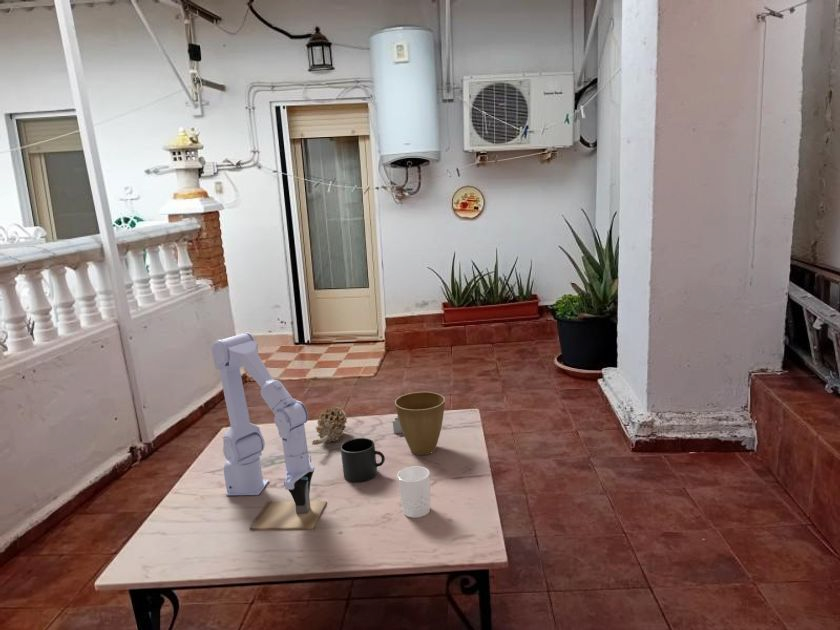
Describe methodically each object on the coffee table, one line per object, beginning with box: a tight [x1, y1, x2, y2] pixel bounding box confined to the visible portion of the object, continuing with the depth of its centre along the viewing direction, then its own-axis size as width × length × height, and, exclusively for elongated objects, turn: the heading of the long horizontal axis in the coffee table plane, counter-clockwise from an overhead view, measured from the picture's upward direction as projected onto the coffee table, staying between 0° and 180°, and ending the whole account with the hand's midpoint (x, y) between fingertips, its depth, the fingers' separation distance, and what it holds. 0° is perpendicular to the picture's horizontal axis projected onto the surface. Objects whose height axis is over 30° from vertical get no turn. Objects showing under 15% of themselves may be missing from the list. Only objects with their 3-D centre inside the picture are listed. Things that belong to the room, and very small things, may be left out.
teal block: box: [295, 477, 311, 514], centre depth 149 cm, size 3×3×9 cm
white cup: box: [396, 465, 431, 519], centre depth 146 cm, size 8×8×10 cm
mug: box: [340, 437, 386, 483], centre depth 167 cm, size 9×12×9 cm
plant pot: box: [394, 391, 446, 456], centre depth 179 cm, size 15×15×16 cm
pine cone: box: [311, 406, 348, 446], centre depth 189 cm, size 22×10×10 cm, turn 173°
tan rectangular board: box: [248, 500, 328, 531], centre depth 149 cm, size 16×12×1 cm
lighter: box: [392, 415, 403, 435], centre depth 194 cm, size 7×2×8 cm, turn 93°
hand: (302, 501), depth 150 cm, fingers closed on teal block, 3 cm apart
